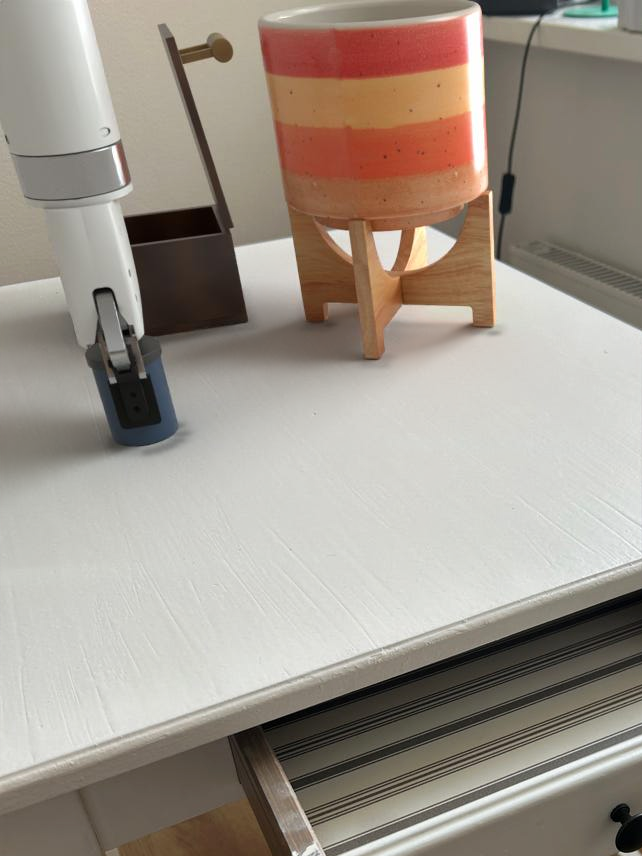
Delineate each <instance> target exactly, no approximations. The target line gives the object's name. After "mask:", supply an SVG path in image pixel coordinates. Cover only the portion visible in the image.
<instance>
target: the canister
mask: <svg viewBox="0 0 642 856" xmlns="http://www.w3.org/2000/svg"><path fill="white" fill-rule="evenodd" d="M123 337H124V338H127V337H131V335H125V336H123ZM105 341H106V340H105ZM138 344H139V348H140V352H141V356H142V359H143V363H144V367H145V371H146V374H150V376H151V380H152V384H153V388H154V391H155V395H156V399H157V402H158V406H159V410H160V414H161V418H162V421H161V423H159V424H156V425H150V426H144V427H139V428H133V429H127V430H125V429H123V428H122V427H121V426H120V422H119V419H118V416H117V412H116V409H115V406H114V402H113V399H112V396H111V392H110V389H109V385H108V380H109V378H108V374H107V370H106V366H105V363H104V359H103V355H102V351H101V348H100V346H99V342H98V343H96V344H94V345H93V344H91V346H89V348H87V349H86V350H85V352H84V358H85V361H86V364H87V366H88V367H89V368H90V369H91V371H92V374H93V378H94V381H95V384H96V388H97V391H98V394H99V397H100V400H101V404H102V407H103V411H104V414H105V417H106V420H107V424H108V427H109V429H110V434H111V437H112V439H113V441H114V442H115V443H117V444H118V445H122V446H128V447H129V446H130V447H139V446H147V445H151V444H156V443H158V442H162V441H164V440H167V439H168V438H170V437H172V436H173V435H174V434H176V433H177V431H178V429H179V422H178V418H177V414H176V410H175V407H174V403H173V398H172V395H171V390H170V387H169V383H168V379H167V376H166V372H165V368H164V364H163V360H162V353H163V350H162V346H161V342H160V340H159V339H158V338H156V337H155V336H147V335H143V336H142V338H141V339H140V340H138ZM126 348H127V351H128V353H129V352H131V353H132V354H133V351H132V347H131V345H130V346H126ZM133 356H134V355H133Z"/></svg>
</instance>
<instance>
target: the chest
mask: <svg viewBox="0 0 642 856" xmlns="http://www.w3.org/2000/svg"><path fill="white" fill-rule="evenodd" d="M123 218H124V222H125V226H126V230H127V234H128V238H129V243H130V247H131V251H132V255H133V260H134V264H135V269H136V274H137V279H138V285H139V291H140V297H141V305H142V315H143V326H144V335H147V336H152V337H156V336H163V335H164V336H165V335H170V334H171V335H172V334H176V333H184V332H189V331H197V330H202V329H208V328H215V327H222V326H229V325H235V324H241V323H247V322H249V317H248V310H247V307H246V302H245V296H244V291H243V285H242V281H241V275H240V270H239V265H238V260H237V255H236V250H235V246H234V239H233V234H232V232H231V229H226V227H225V225H224V223H223V220H222V218H221V216H220V213H219V211H218V209H217V206H216V204H215V203H213V204H206V205H198V206H189V207H182V208H181V207H180V208H175V209H174V208H173V209H167V210H159V211H151V212H143V213H136V214H135V213H134V214H128V215H123ZM103 335H104V333H103ZM104 339H105V336H104ZM98 342H99V340H98V336H97V333H96V337H95V344H96V343H98ZM92 345H94V344H92Z"/></svg>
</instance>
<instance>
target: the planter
mask: <svg viewBox="0 0 642 856" xmlns="http://www.w3.org/2000/svg"><path fill="white" fill-rule="evenodd" d="M257 30H258V37H259V44H260V52H261V57H262V58H261V59H262V66H263V71H264V76H265V82H266V87H267V88H266V89H267V94H268V100H269V105H270V106H269V107H270V111H271V119H272V124H273V130H274V131H273V132H274V138H275V144H276V150H277V151H276V152H277V158H278V165H279V171H280V176H281V182H282V189H283V194H284V195H283V196H284V200H285V202H286V206H287V212H288V217H289V223H290V230H291V235H292V243H293V248H294V255H295V262H296V267H297V273H298V280H299V287H300V293H301V299H302V306H303V311H304V317H305V322H315V323H316V322H318V323H324V322H326V321H327V320H328V319H329V318H330V310H329V304H356V305H357V306H358V307H357V308H358V315H359V323H360V331H361V337H362V338H361V340H362V346H363V355H364V359H374V360H375V359H376V360H380V359H381V358H382V356H383V355H384V353H385V352H386V345H385V335H384V331H385V329H386V328H387V326H388V325H389V324H390V322H391V321H392V320H393V318H394V317H395V316H396V314H397V313H398V312H399V310H400V309H401V308H402V306H438V307H439V306H440V307H470V308H471V310H472V325H473V327H490V328H491V327H492V328H493V327H495V325H496V323H497V297H496V295H497V294H496V268H495V265H496V264H495V241H494V238H495V237H494V214H493V213H494V211H493V210H494V209H493V205H494V203H493V191H492V190H491V189H490V190H487V189H488V187H489V161H488V159H489V158H488V137H487V136H488V135H487V119H486V118H487V117H486V91H485V89H486V88H485V54H484V53H485V51H484V32H483V31H484V29H483V13H482V8H481V5H479V3H477V2H475V1H473V0H351V1H339V2H330V3H329V2H328V3H320V4H313V5H312V4H311V5H304V6H297V7H291V8H285V9H281V10H276V11H272V12H269V13H266V14H264V15H261V16H260V17H259V18H258V20H257ZM465 204H467V208H466V209H467V210H466V214H465V219H464V222H463V224H462V228H461V230H460V233H459V234H458V237H457V238H456V241H455V243H454V244H453V245H452V247H451V248H450V249H449V250H448V252H446V253H445V254H444V255H443V256H442V257H440V258H438V260H436V261H434V262H432V263H431V264H429V255H428V242H427V241H428V240H427V231H426V230H427V229H426V227H428V226H431V225H435V224H439V223H443V222H446V221H448V220H450V219H451V218H454V217H455V216H457V215H459V214H460V213H461V212H462V211H463V209H464V207H465ZM325 227H327V228H330V229H335V230H340V231H346V232H348V234H349V235H348V236H349V242H350V243H349V244H350V250H351V255H350V254H349V253H347V252H346V251H345V250H343V248H341V246H339V244H338V243H337V242H335V240H334V239H333V238H332V236H331V235H330V234H329V232H328V231H327V229H326V228H325ZM396 231H401V232H400V239H399V244H398V251H397V254H396V258H395V260H394V263H393V265H392V267H391V268H390V270H386V269H384V266H383V265H382V262H381V260H380V257H379V253H378V249H377V247H376V242H375V237H374V233H383V232H396Z"/></svg>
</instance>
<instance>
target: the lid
mask: <svg viewBox="0 0 642 856" xmlns="http://www.w3.org/2000/svg"><path fill="white" fill-rule="evenodd" d="M157 29H158V32H159V35H160V37H161V41H162V44H163V48H164V51H165V53H166V57H167V60H168V63H169V66H170V69H171V73H172V76H173V78H174V81H175V85H176V88H177V91H178V94H179V97H180V100H181V104H182V107H183V110H184V112H185V116H186V118H187V121H188V125H189V127H190V131H191V134H192V137H193V140H194V143H195V146H196V150H197V153H198V156H199V159H200V161H201V165H202V169H203V171H204V174H205V177H206V181H207V183H208V186H209V189H210V190H209V191H210V193H211V197H212V199H213V201H214V204H216V206H217V209H218V211H219V213H220V216H221V218H222V220H223V223H224V225H225V227H226V229H229V230H231V229H233V228H235V225H234V222H233V219H232V216H231V212H230V210H229V206H228V202H227V200H226V196H225V193H224V190H223V187H222V184H221V181H220V177H219V174H218V171H217V168H216V165H215V161H214V159H213V155H212V152H211V149H210V146H209V143H208V140H207V137H206V133H205V130H204V126H203V124H202V120H201V117H200V114H199V111H198V108H197V104H196V102H195V98H194V95H193V92H192V89H191V85H190V83H189V80H188V77H187V73H186V70H185V67H184V65H187V64H190V63H195V62H199V61H203V60H207V59H210V58H211V59H212V58H214V60H216V61H217V62H219V63H221V64H225V63H229V62H230V61H231V60H233V59H232V58H233V57H234V47H233V44H232V43H231V42H230V40H228V39H227V38H226V37H225V36H224V35H223V34H222V33H220V32H212V33H210V34H209V35H208V36H207V38H206V42H205V43H200V44H196V45H192V46H189V47H183V48H180V49H179V48H178V44H177V42H176V39H175V36H174V35H173V33H172V32H171V30H170V28H169V27H168V26H167V24H166V22H165V23H160V24H157Z"/></svg>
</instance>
